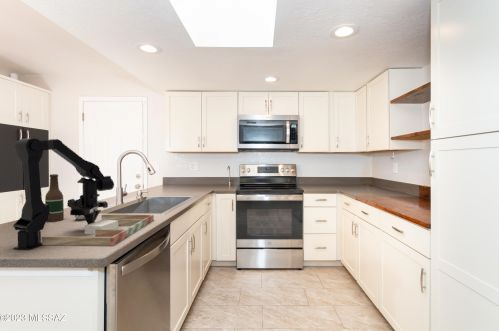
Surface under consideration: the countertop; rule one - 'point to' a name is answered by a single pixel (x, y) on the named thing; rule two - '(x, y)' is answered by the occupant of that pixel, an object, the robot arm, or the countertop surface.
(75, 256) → the countertop surface
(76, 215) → the geometric wire polyhedron
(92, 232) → the white rectangular box
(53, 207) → the beer bottle
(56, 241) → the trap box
